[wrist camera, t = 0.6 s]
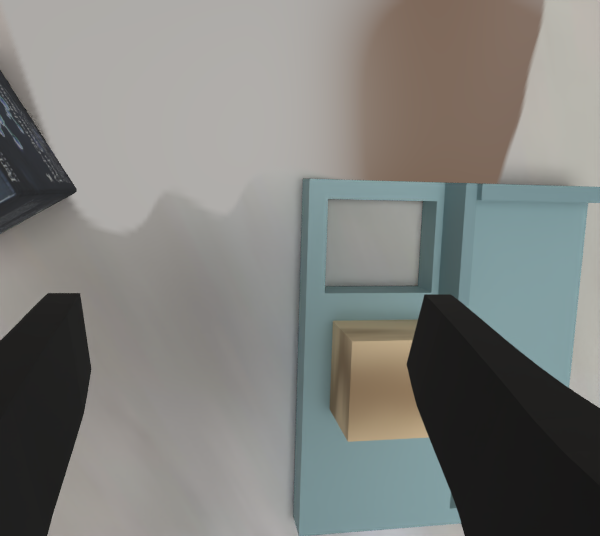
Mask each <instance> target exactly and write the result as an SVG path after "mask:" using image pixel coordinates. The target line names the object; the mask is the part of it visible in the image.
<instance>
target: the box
mask: <svg viewBox="0 0 600 536" xmlns="http://www.w3.org/2000/svg"><path fill="white" fill-rule="evenodd" d="M75 192H76V188H75V186H74V184H73V183H72V181H71V180H70V178H69V177H68V175H67V174H66V172H65V171H64V169H63V168H62V166H61V164H60V163H59V161H58V160H57V158H56V157H55V155H54V154H53V152H52V151H51V149H50V147H49V146H48V144H47V143H46V141H45V139H44V138H43V136H42V135H41V134H40V132H39V130H38V129H37V127H36V126H35V124H34V123H33V121H32V119H31V118H30V116H29V115H28V113H27V112H26V109H25V108H24V107H23V106H22V104H21V102H20V101H19V99H18V98H17V96H16V95H15V93H14V91H13V90H12V88H11V87H10V85H9V83H8V81H7V80H6V79H5V77H4V75H3V74H2V72H1V71H0V234H1V233H2V232H4V231H6V230H8V229H10V228H12V227H13V226H15V225H17V224H19V223H21V222H22V221H24V220H26V219H28V218H30V217H31V216H33V215H35V214H37V213H39V212H40V211H42V210H44V209H46V208H48V207H50V206H51V205H53V204H55V203H57V202H59V201H61V200H63V199H64V198H66V197H68V196H70V195H72V194H74V193H75Z"/></svg>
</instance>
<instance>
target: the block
mask: <svg viewBox="0 0 600 536" xmlns="http://www.w3.org/2000/svg"><path fill="white" fill-rule="evenodd" d="M417 321H418V319H417V320H351V321H333V331H332V358H331V385H330V411H331V413H332V414H333V416H334V418H335V420H336V422H337V423H338V425H339V427H340V429H341V430H342V432H343V434H344V436H345V438H346V439H347V441H348V442H353V441H372V440H391V439H410V438H429V436H428V434H427V431H426V429H425V426H424V423H423V421H422V418H421V416H420V413H419V410H418V408H417V405H416V401H415V398H414V394H413V390H412V386H411V382H410V377H409V373H408V369H407V360H408V356H409V352H410V349H411V345H412V341H413V337H414V333H415V329H416V325H417Z"/></svg>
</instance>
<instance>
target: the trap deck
mask: <svg viewBox="0 0 600 536" xmlns="http://www.w3.org/2000/svg"><path fill="white" fill-rule="evenodd" d="M328 199H356V200H401V201H423V210H422V227H421V243H420V260H419V277H418V286H325V272H326V244H327V215H328ZM588 203H600V187H583V186H548V185H513V184H475V183H438V182H403V181H368V180H333V179H303V192H302V228H301V263H300V299H299V334H298V369H297V405H296V440H295V476H294V511H293V517H294V520H295V524H296V527H297V531H298V535H299V536H309V535H322V534H334V533H347V532H359V531H371V530H384V529H396V528H409V527H421V526H433V525H446V524H458V523H461V520H460V517H459V514H458V511H457V508H456V505H455V502H454V499H453V497H452V494H451V491H450V489H449V486H448V484H447V481H446V479H445V476H444V474H443V471H442V469H441V466H440V464H439V461H438V459H437V456H436V454H435V451H434V449H433V446H432V444H431V441H430V439H429V438H410V439H391V440H372V441H353V442H348V441H347V439H346V438H345V436H344V434H343V432H342V430H341V429H340V427H339V425H338V423H337V422H336V420H335V418H334V416H333V414H332V413H331V411H330V385H331V358H332V331H333V321H351V320H417V319H418V317H419V314H420V310H421V306H422V302H423V298H424V294H451V295H452V296H454V297H455V298H456V299H458V300H459V301H460V302H462V303H463V304H464V305H465V306H466V307H468V308H469V309H470V310H471V311H472V312H474V313H475V314H476V315H477V316H478V317H479V318H481V319H482V320H483V321H484V322H485V323H487V324H488V325H489V326H490V327H491V328H492V329H494V330H495V331H496V332H497V333H498V334H500V335H501V336H502V337H503V338H504V339H506V340H507V341H508V342H509V343H510V344H512V345H513V346H514V347H515V348H517V349H518V350H519V351H520V352H522V353H523V354H524V355H525V356H527V357H528V358H529V359H530V360H532V361H533V362H534V363H536V364H537V365H538V366H539V367H541V368H542V369H543V370H545V371H546V372H548V373H549V374H550V375H552V376H553V377H554V378H556V379H557V380H558V381H560V382H561V383H562V384H564V385H565V386H567V387H568V388H569V383H570V373H571V363H572V354H573V344H574V334H575V324H576V315H577V305H578V295H579V286H580V276H581V266H582V257H583V247H584V237H585V228H586V218H587V208H588Z"/></svg>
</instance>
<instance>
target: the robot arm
mask: <svg viewBox="0 0 600 536" xmlns="http://www.w3.org/2000/svg"><path fill="white" fill-rule="evenodd" d="M407 369H408V373H409V377H410V382H411V386H412V390H413V394H414V398H415V401H416V405H417V408H418V410H419V413H420V416H421V418H422V421H423V423H424V426H425V429H426V431H427V434H428V436H429V439H430V441H431V444H432V446H433V449H434V451H435V454H436V456H437V459H438V461H439V464H440V466H441V469H442V471H443V474H444V476H445V479H446V481H447V484H448V486H449V489H450V491H451V494H452V497H453V499H454V502H455V505H456V508H457V511H458V514H459V517H460V520H461V524H462V527H463V531H464V534H465V536H600V408H599V407H597V406H595V405H594V404H592V403H591V402H589V401H588V400H586V399H584V398H583V397H581V396H580V395H578V394H577V393H575V392H574V391H572V390H571V389H570V388H568V387H567V386H565V385H564V384H562V383H561V382H560V381H558V380H557V379H556V378H554V377H553V376H552V375H550V374H549V373H548V372H546V371H545V370H543V369H542V368H541V367H539V366H538V365H537V364H536V363H534V362H533V361H532V360H530V359H529V358H528V357H527V356H525V355H524V354H523V353H522V352H520V351H519V350H518V349H517V348H515V347H514V346H513V345H512V344H510V343H509V342H508V341H507V340H506V339H504V338H503V337H502V336H501V335H500V334H498V333H497V332H496V331H495V330H494V329H492V328H491V327H490V326H489V325H488V324H487V323H485V322H484V321H483V320H482V319H481V318H479V317H478V316H477V315H476V314H475V313H474V312H472V311H471V310H470V309H469V308H468V307H466V306H465V305H464V304H463V303H462V302H460V301H459V300H458V299H456V298H455V297H454V296H452V295H451V294H424V298H423V302H422V306H421V310H420V314H419V317H418V321H417V325H416V329H415V333H414V337H413V341H412V345H411V349H410V352H409V356H408V360H407ZM90 374H91V364H90V358H89V351H88V344H87V337H86V331H85V324H84V317H83V311H82V304H81V297H80V293H48V294H47V295H46V296H45V297H43V298H42V299H41V300H40V301H39V302H38V303H37V304H36V305H35V306H34V307H33V308H32V309H31V310H30V311H29V312H28V313H27V314H26V315H25V316H24V318H23V319H22V320H21V321H20V322H19V323H18V324H17V325H16V326H15V327H14V328H13V329H12V330H11V331H10V332H9V333H8V334H7V335H6V336H5V337H4V338H3V339H2V340H0V536H47V534H48V530H49V527H50V523H51V519H52V515H53V512H54V509H55V505H56V502H57V499H58V496H59V493H60V489H61V486H62V483H63V480H64V476H65V473H66V470H67V467H68V464H69V460H70V457H71V454H72V451H73V447H74V444H75V441H76V438H77V434H78V431H79V428H80V424H81V421H82V418H83V414H84V409H85V403H86V398H87V392H88V386H89V380H90Z"/></svg>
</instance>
